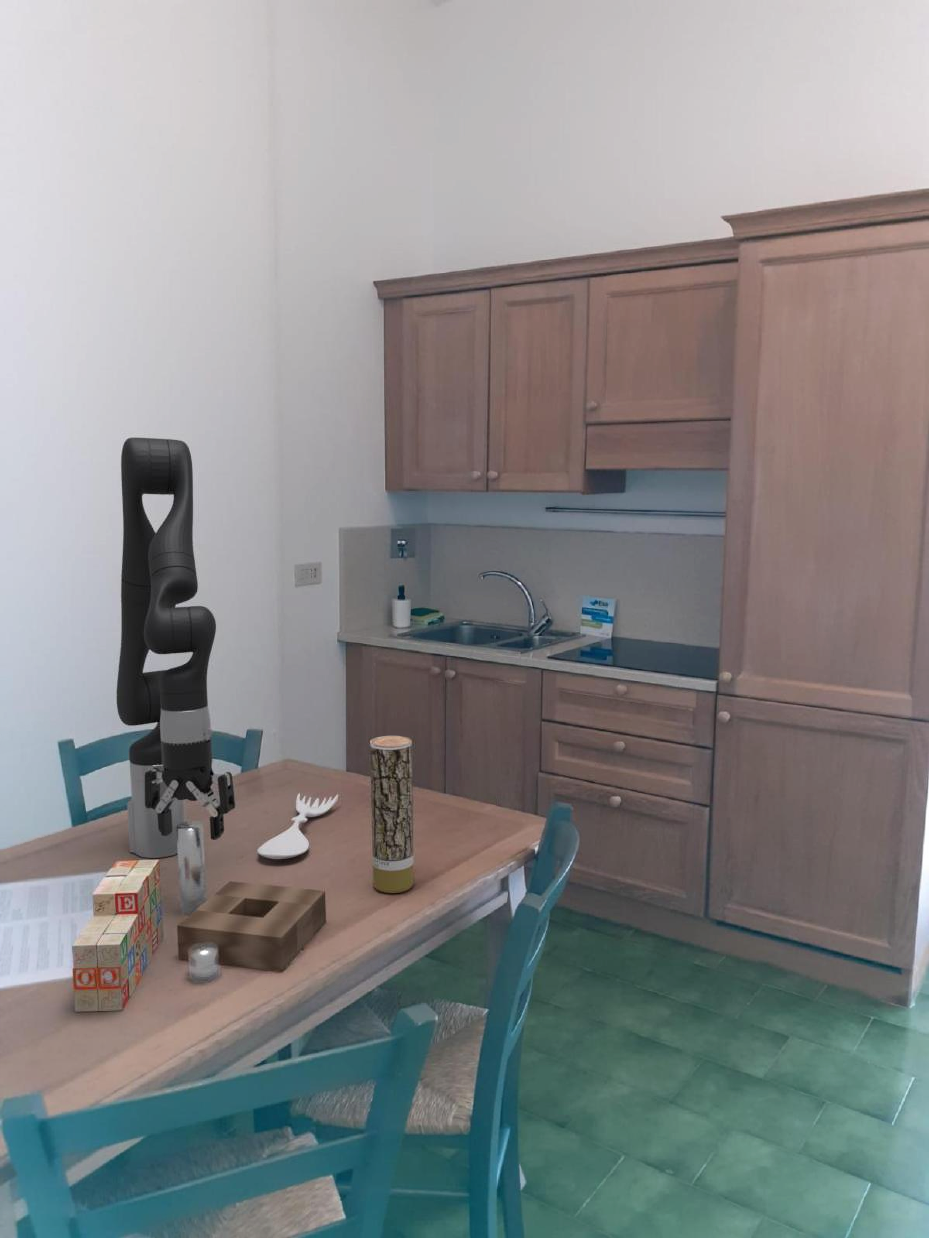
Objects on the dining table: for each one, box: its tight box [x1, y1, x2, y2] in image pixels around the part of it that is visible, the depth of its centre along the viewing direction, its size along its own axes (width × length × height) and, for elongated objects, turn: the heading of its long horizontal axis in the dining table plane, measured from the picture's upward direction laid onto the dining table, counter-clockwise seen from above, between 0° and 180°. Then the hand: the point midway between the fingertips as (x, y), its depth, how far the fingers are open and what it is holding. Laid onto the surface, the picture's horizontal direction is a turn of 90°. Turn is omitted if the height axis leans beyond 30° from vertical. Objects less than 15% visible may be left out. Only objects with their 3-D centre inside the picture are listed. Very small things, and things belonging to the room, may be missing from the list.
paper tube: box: [369, 735, 415, 894], centre depth 165 cm, size 7×7×25 cm
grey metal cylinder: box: [188, 942, 221, 984], centre depth 137 cm, size 4×4×4 cm
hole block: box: [176, 880, 327, 972], centre depth 148 cm, size 16×16×5 cm
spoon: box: [257, 793, 339, 860], centre depth 191 cm, size 9×32×4 cm, turn 174°
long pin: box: [176, 820, 207, 917], centre depth 157 cm, size 4×4×14 cm
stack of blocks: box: [71, 859, 164, 1013], centre depth 138 cm, size 21×6×12 cm, turn 3°
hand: (191, 836), depth 156 cm, fingers open, 8 cm apart
